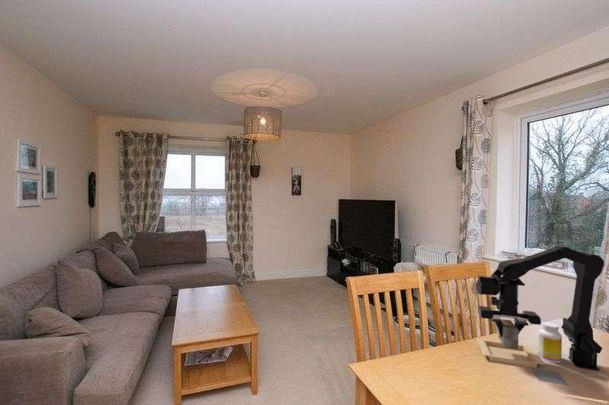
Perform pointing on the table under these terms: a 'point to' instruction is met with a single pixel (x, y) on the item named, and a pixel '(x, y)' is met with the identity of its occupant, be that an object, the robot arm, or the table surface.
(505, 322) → the box
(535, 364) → the tray
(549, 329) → the supplement bottle
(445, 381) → the table surface
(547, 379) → the coaster
